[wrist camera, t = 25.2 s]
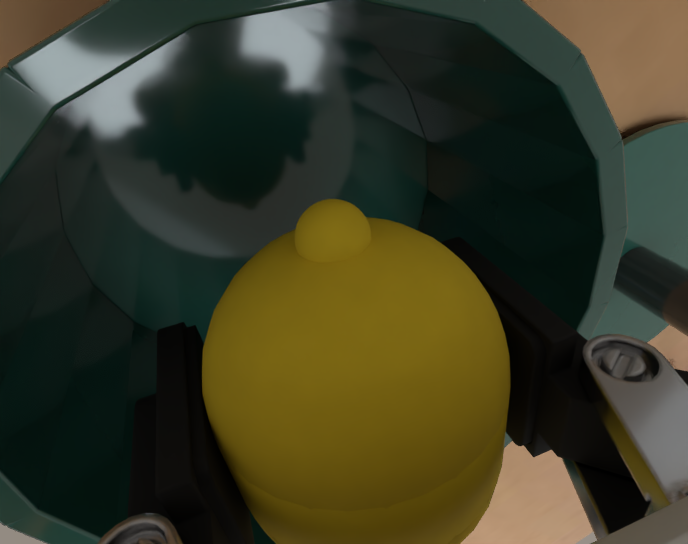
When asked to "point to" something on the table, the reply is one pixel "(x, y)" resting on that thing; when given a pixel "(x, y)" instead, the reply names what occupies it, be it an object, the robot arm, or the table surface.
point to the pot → (263, 192)
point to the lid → (653, 237)
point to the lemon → (358, 384)
